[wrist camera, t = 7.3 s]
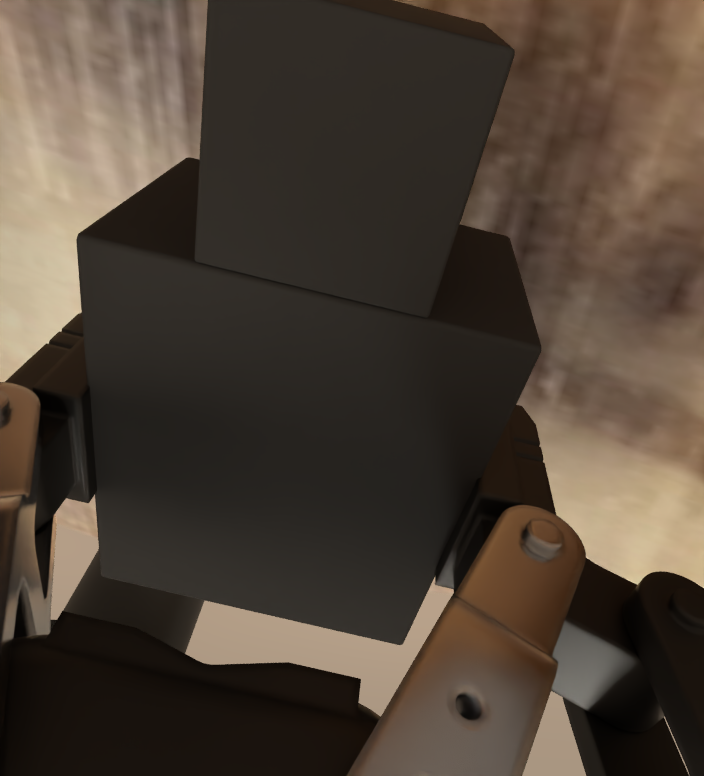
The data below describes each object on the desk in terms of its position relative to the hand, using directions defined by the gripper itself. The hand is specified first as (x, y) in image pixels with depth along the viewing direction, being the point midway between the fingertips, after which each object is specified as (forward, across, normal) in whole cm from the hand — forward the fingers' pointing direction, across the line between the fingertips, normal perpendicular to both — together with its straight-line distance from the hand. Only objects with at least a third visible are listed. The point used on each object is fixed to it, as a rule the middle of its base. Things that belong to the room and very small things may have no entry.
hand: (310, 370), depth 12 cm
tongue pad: (+1, 0, -1) cm, 2 cm away
